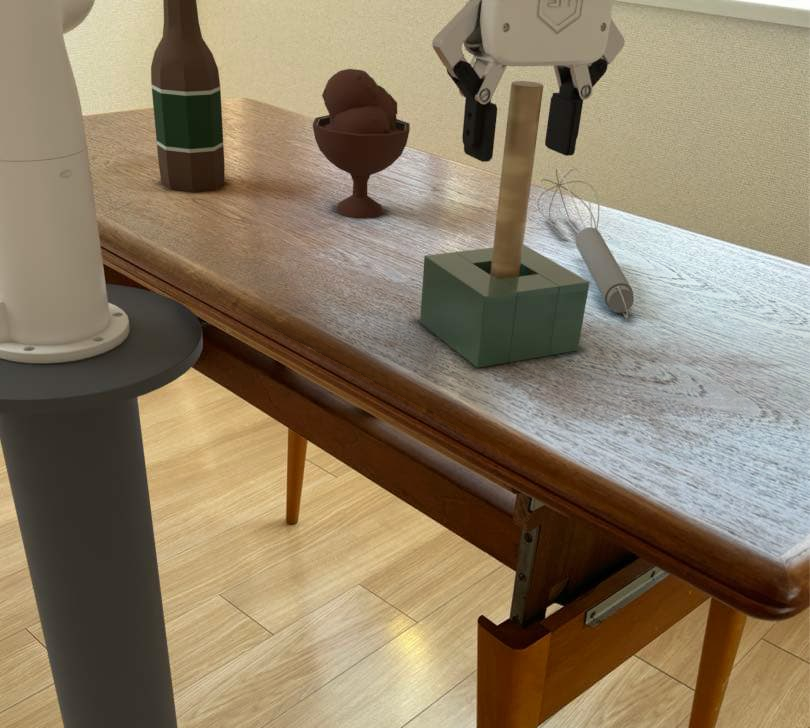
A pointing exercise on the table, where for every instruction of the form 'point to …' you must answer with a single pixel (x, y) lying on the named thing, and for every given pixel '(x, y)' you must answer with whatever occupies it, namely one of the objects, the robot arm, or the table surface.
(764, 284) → the table surface
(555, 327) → the holder
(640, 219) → the table surface
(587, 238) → the kitchen whisk
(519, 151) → the stick
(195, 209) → the table surface
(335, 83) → the ice cream bowl
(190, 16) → the beer bottle
